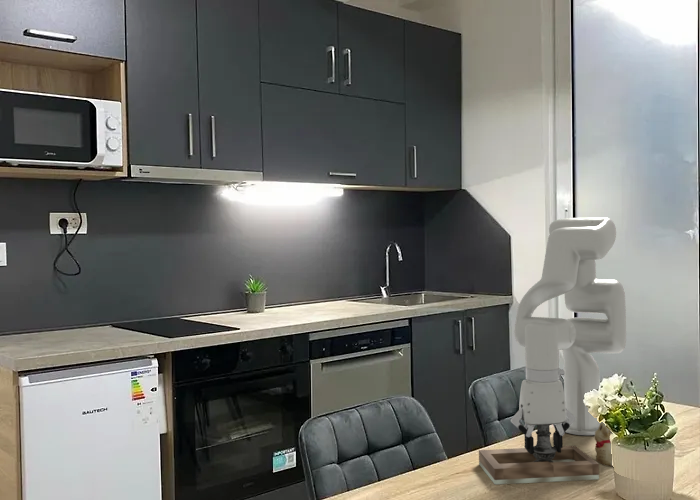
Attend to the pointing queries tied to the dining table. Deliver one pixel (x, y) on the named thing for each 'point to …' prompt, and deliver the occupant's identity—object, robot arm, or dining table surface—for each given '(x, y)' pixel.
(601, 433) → the chocolate bunny
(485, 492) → the dining table surface
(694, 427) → the dining table surface
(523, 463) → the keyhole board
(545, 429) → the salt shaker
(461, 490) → the dining table surface
